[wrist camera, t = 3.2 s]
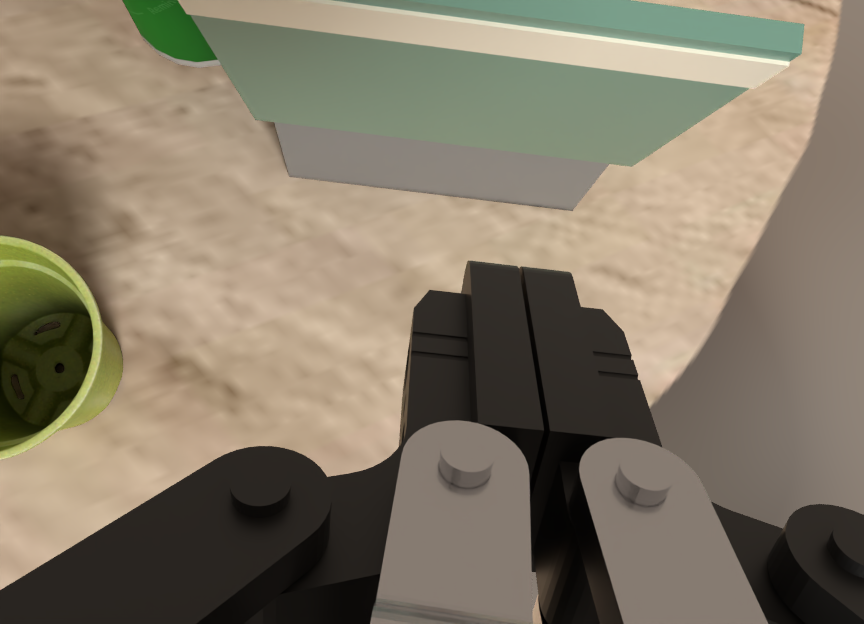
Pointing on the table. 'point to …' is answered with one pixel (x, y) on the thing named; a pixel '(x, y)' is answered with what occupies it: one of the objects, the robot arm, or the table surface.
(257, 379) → the table surface
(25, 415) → the plant pot
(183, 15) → the soda can
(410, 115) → the lid
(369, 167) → the storage box
